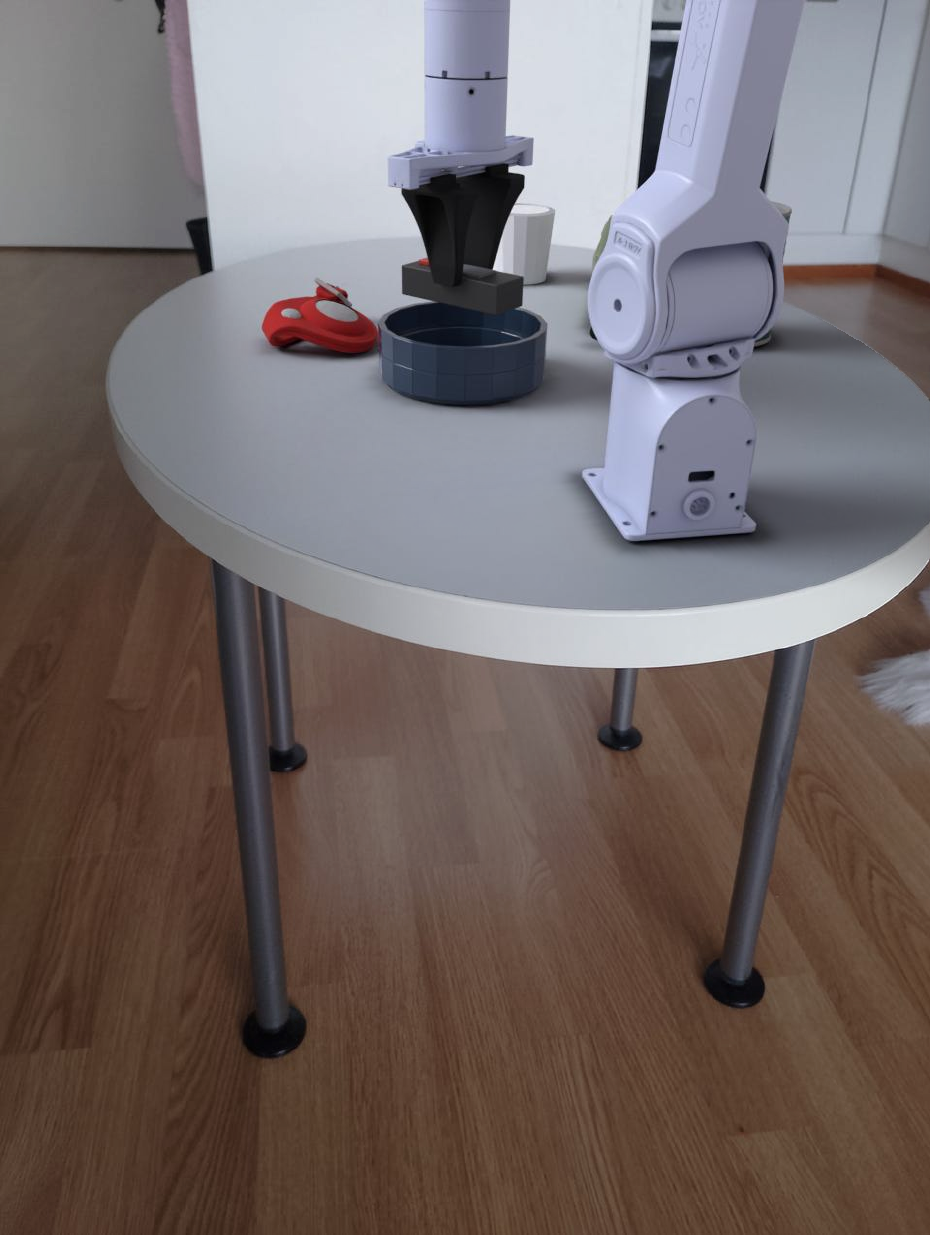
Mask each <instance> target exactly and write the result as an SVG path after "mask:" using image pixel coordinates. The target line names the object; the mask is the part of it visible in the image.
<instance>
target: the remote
mask: <svg viewBox="0 0 930 1235" xmlns="http://www.w3.org/2000/svg"><path fill="white" fill-rule="evenodd" d="M523 283H524V277H523V276H518V275H513V274H508V273H504V272H499V271H496V270H491V269H486V268H481V267H476V266H471V265H466V264H464V266H463V274H462V278H461V281H460V285H459V286H456V287H451V286H446V285H441V284H437V283H434V282H433V278H432V274H431V270H430V266H429V261H428V257H424V258H420V259H418V260H416V261H413V262H409V263H405V264H402V265H401V294H402V295H404V296H408V297H413V298H418V299H421V300H426V301H429V302H431V301H434V302H439V303H443V304H448V305H452V306H457V307H461V308H465V309H470V310H474V311H479V312H483V313H487V314H492V315H499V314H502V313H504V312H507V311H510V310H513V309H515V308H518V307H519V308H522V307H523V304H524V302H523V300H524V285H523Z"/></svg>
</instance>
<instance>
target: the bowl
mask: <svg viewBox="0 0 930 1235" xmlns="http://www.w3.org/2000/svg"><path fill="white" fill-rule="evenodd" d="M548 325H549V324H548V322H547V321H546V320H545V319H544V318H543V317H542V315H540V314H538V313H535V312H533V311H531V310H529V309H526V308H523V307H518V308H515V309H513V310H510V311H507V312H504V313H502V314H499V315H492V314H487V313H483V312H479V311H474V310H470V309H465V308H461V307H457V306H452V305H448V304H443V303H439V302H434V301H424V302H417V303H411V304H407V305H403V306H400V307H396V308H394V309H392V310H390V311H388V312H386V313H384V314H382V315H381V317H380V319H379V320H378V321H377V331H378V336H377V340H378V365H379V366H378V370H379V372H378V373H379V374H380V377H381V380H382V381H383V382H385V383H386V384H387V385H388V386H389V387H390V388H391V389H392V390H394V391H395V392H397V393H399V394H401V395H403V396H405V397H407V398H408V397H409V398H411V399H414V400H418V401H423V402H426V403H432V404H441V405H451V406H452V405H453V406H478V405H479V406H480V405H481V406H482V405H490V404H497V403H503V402H508V401H511V400H516V399H518V398H521V397H523V396H525V395H527V394H529V393H531V392H532V391H533V390H534V389H535V388H537V387H538V386H539V385H540V384H542V383H543V382H544V379H545V374H546V358H547V357H546V356H547V341H548Z"/></svg>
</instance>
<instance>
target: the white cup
mask: <svg viewBox="0 0 930 1235" xmlns="http://www.w3.org/2000/svg"><path fill="white" fill-rule="evenodd" d="M555 217H556V209H555V208H553V207H550V206H546V205H542V204H536V203H535V204H534V203H517V202H516V203H515V205H514V207H513V209H512V211H511V213H510V215H509V217H508V220H507V223H506V225H505V228H504V231H503V234H502V238H501V241H500V244H499V248H498V252H497V256H496V260H495V263H494V267H493V270H496V271H499V272H504V273H508V274H513V275H518V276H523V277H524V283H523V286H527V285H536V284H541V283H543V282H545V281H546V279H547V273H548V272H547V271H548V264H549V259H550V258H549V257H550V252H551V244H552V237H553V231H554V230H553V229H554V224H555Z"/></svg>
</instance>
